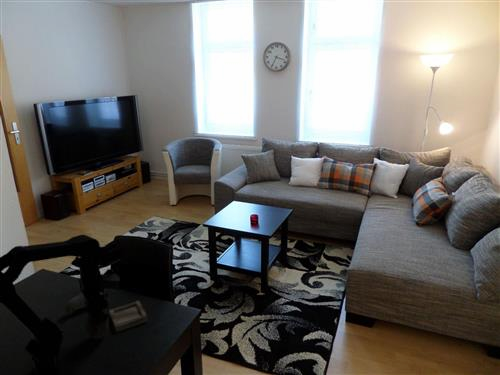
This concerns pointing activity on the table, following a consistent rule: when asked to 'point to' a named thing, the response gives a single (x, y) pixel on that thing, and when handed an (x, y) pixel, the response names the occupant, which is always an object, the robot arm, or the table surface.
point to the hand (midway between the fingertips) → (95, 314)
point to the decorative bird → (78, 303)
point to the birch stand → (128, 316)
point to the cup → (97, 326)
